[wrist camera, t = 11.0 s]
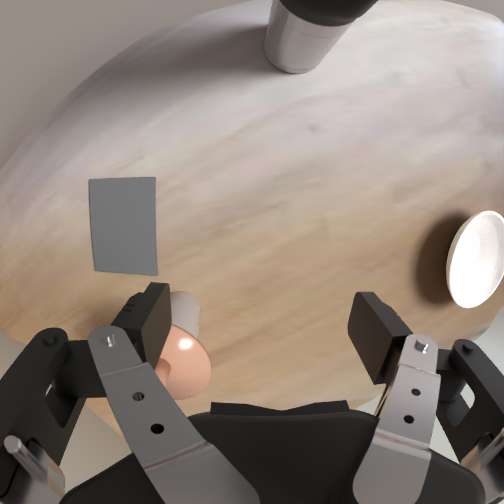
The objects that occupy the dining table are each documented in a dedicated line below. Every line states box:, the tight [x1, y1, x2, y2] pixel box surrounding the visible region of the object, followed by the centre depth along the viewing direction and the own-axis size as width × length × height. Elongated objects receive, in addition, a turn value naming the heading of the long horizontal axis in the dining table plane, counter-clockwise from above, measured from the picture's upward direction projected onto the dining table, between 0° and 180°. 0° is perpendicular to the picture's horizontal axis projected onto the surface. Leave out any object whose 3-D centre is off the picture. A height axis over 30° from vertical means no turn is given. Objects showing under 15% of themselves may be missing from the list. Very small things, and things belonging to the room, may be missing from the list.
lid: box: [155, 324, 211, 400], centre depth 30 cm, size 13×13×7 cm
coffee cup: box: [170, 291, 200, 340], centre depth 40 cm, size 10×10×15 cm
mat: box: [89, 177, 158, 276], centre depth 43 cm, size 16×12×1 cm
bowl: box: [446, 211, 504, 308], centre depth 43 cm, size 20×20×7 cm
